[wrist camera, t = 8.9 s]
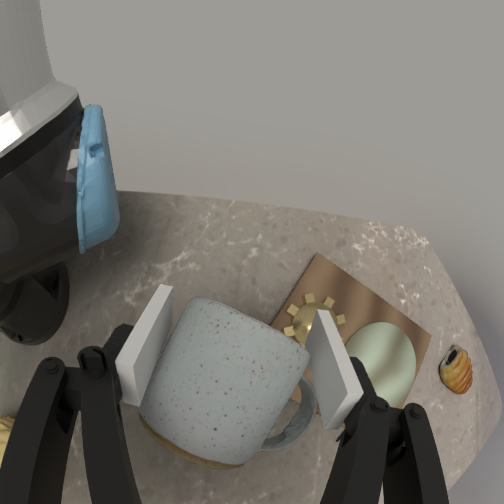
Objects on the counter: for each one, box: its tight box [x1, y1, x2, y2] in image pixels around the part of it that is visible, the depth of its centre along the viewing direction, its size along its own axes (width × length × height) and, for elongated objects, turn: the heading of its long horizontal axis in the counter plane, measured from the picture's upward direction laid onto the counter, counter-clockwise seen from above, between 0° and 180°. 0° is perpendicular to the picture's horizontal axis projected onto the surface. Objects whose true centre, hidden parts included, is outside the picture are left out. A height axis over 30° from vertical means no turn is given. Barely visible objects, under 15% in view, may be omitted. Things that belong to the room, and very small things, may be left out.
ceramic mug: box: [139, 297, 317, 469], centre depth 14 cm, size 11×8×8 cm
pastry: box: [440, 345, 473, 394], centre depth 32 cm, size 9×7×4 cm
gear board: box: [270, 252, 431, 428], centre depth 32 cm, size 23×18×2 cm
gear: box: [281, 293, 346, 348], centre depth 31 cm, size 8×8×4 cm
